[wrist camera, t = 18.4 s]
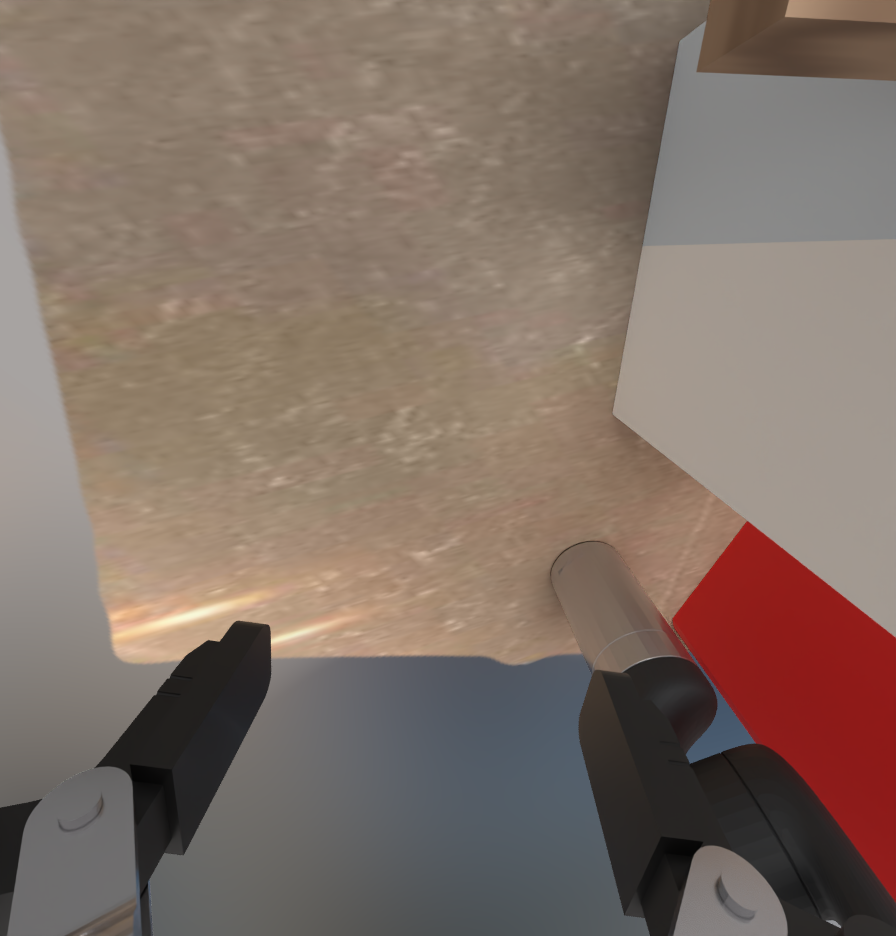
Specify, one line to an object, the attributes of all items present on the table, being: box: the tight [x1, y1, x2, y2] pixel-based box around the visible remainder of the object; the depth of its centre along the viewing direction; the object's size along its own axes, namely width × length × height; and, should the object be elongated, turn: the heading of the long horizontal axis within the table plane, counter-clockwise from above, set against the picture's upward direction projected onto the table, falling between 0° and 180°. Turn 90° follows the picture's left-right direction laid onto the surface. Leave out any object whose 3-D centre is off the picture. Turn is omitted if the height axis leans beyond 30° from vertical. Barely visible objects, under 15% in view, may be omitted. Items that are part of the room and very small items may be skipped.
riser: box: [612, 20, 896, 637], centre depth 27 cm, size 16×30×32 cm, turn 0°
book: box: [673, 521, 896, 902], centre depth 43 cm, size 27×8×32 cm, turn 159°
